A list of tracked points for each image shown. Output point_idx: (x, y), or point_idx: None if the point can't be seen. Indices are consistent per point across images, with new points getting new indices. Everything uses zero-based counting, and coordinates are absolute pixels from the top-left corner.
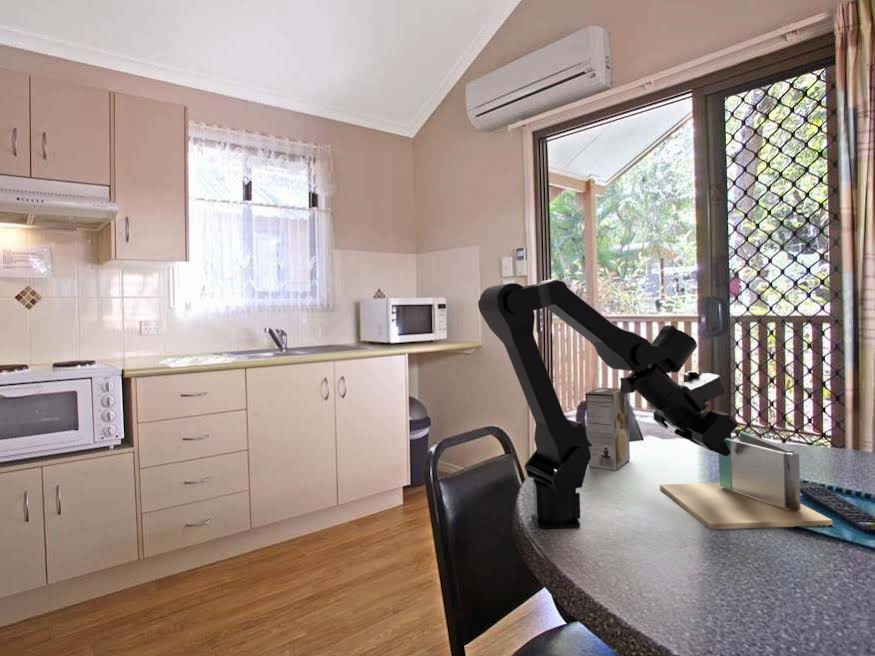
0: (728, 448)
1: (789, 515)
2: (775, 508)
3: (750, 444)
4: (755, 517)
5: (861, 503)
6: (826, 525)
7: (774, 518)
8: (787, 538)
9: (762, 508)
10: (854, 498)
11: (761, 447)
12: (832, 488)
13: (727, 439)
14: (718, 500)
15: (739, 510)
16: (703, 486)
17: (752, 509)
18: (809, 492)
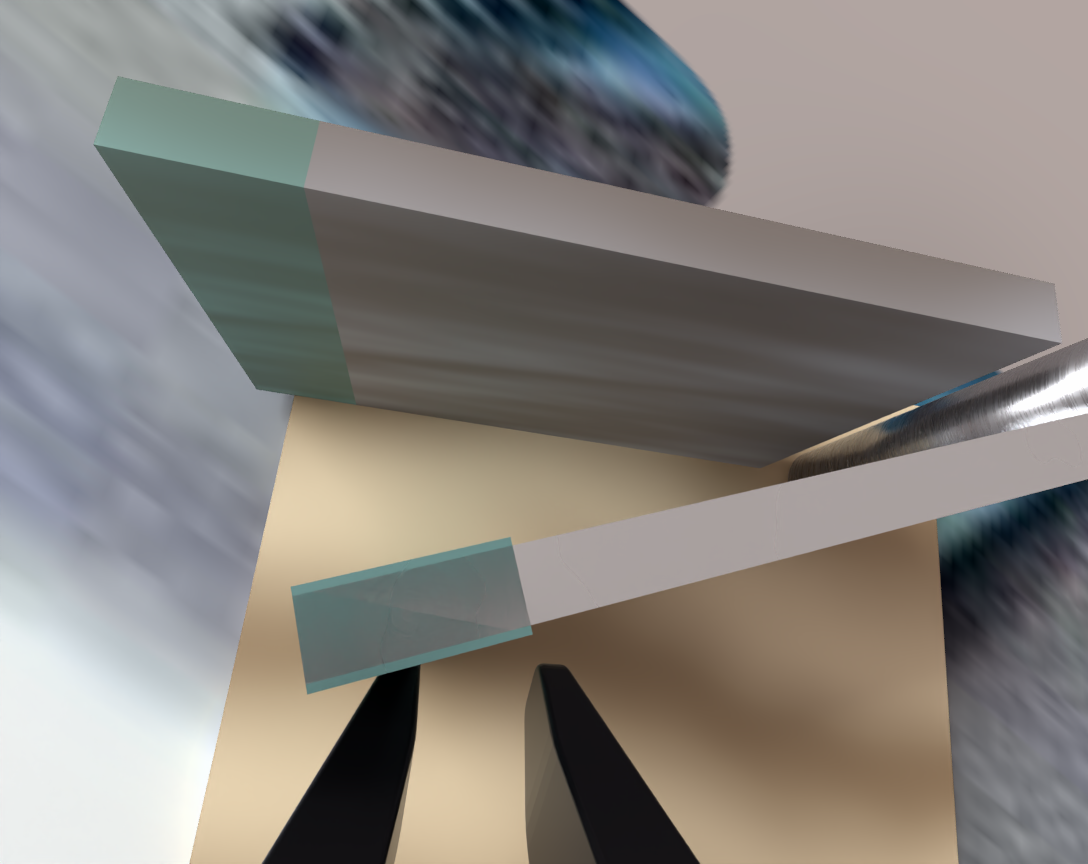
0: (598, 715)
1: (871, 561)
2: None
3: (778, 508)
4: (889, 774)
5: (678, 79)
6: None
7: (903, 671)
8: (1041, 736)
9: (768, 633)
10: (616, 47)
11: (923, 488)
12: (468, 7)
13: (451, 618)
14: None
15: (785, 801)
16: (299, 763)
17: (776, 704)
18: (497, 150)
